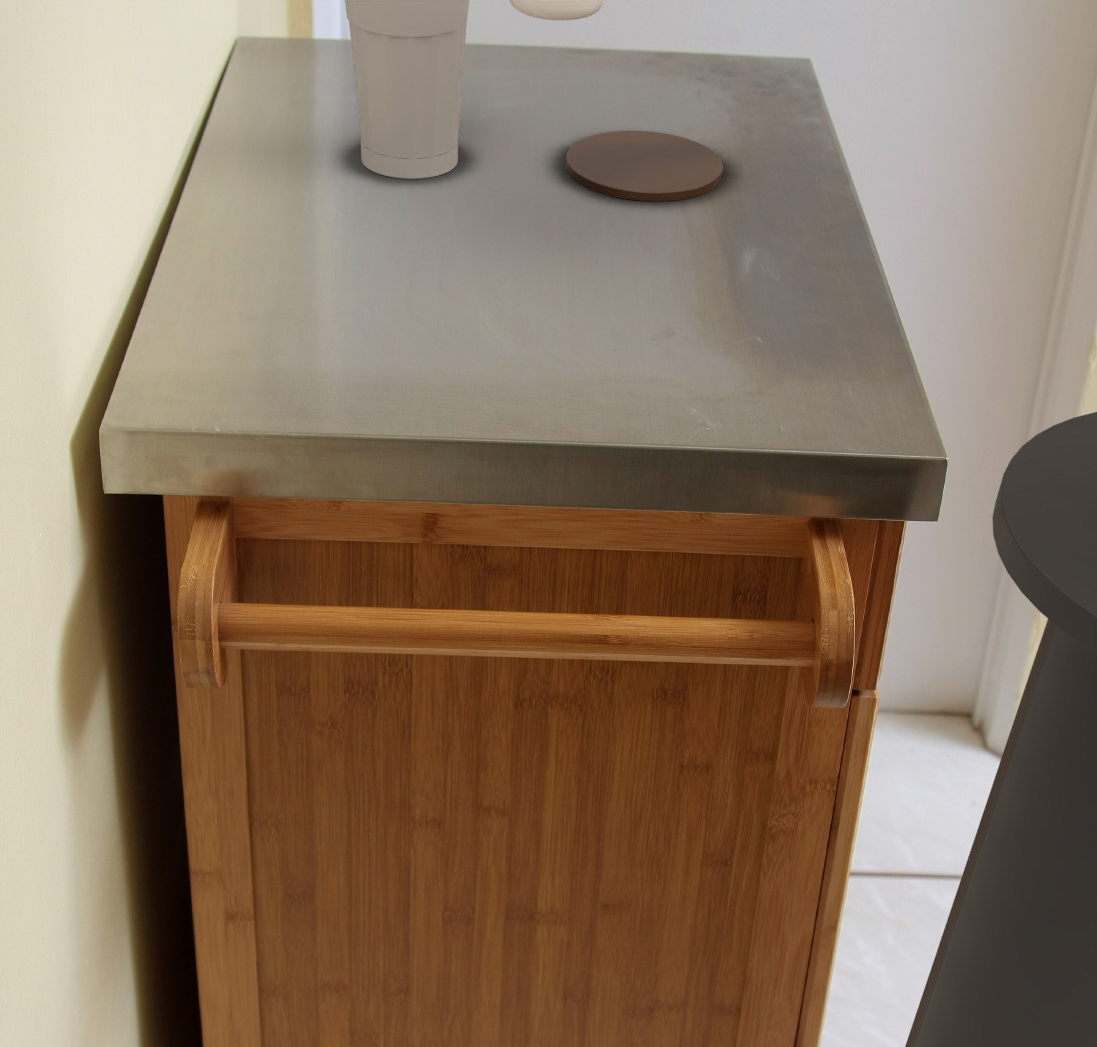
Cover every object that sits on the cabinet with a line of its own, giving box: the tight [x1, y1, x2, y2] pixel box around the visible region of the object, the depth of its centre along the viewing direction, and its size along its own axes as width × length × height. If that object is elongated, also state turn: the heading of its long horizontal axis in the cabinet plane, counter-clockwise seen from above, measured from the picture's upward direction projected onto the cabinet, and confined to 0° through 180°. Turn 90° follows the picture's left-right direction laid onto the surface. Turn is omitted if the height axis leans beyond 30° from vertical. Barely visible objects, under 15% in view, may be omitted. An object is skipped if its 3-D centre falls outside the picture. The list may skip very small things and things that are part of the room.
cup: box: [344, 0, 470, 180], centre depth 103 cm, size 8×8×13 cm
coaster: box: [565, 130, 724, 202], centre depth 108 cm, size 11×11×1 cm
